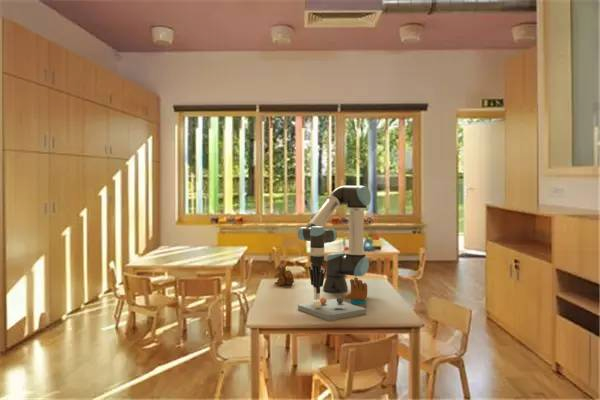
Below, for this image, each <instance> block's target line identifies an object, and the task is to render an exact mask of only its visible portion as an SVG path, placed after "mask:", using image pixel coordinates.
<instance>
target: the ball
mask: <svg viewBox="0 0 600 400" xmlns="http://www.w3.org/2000/svg"><path fill="white" fill-rule="evenodd" d="M327 300H328V299H327V298H326V297H325V296H323V297H320V299H319V301H320V302H321V303H322V304H325V303H326V302H327Z"/></svg>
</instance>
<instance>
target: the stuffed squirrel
mask: <svg viewBox="0 0 600 400" xmlns="http://www.w3.org/2000/svg"><path fill="white" fill-rule="evenodd" d="M286 268H287V264H286V263H284V264H283V263H281V264H279V265H277V266H276V269H275V271H277V272H276V273H275V274H274V275H273V276H274V278H276V279H277V278H278V279H277V281H275V282H274V285H275V284H277V285H276V286H291V285H293V284H294V283H295V279H294V275H293V272H292V271H291V270H290V269H286Z"/></svg>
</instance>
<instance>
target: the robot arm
mask: <svg viewBox="0 0 600 400" xmlns="http://www.w3.org/2000/svg"><path fill="white" fill-rule="evenodd" d="M371 200H372V196H371V192H370V190H369V188H368V187H367V186H366V185H340V186H338V187H337V188H335V189H334V190H332V191H331V192H330V193H329V194H328V195H327V197H326V198H325V202H323V204H322V206H321V207H320V208H319V209H318V211H317V212H316V213H315V214H314V216H313V217H312V218H311V220H309V222H308V223H307V225H306V226H302V227H299V228H298V230H297V237H298V239H299V240H300V241H305V242H306V241H307V242H310V250H309V251H310V252H309V255H310V256H309V263H311V265H310V266H308V267H307V268H308V271H309V278H310V284H311V286H312V287H313V300H320V299H321V296H320V293H321V288H322V290H323V291H324V292H325V293H338V294H339V293H346V292H348V290H349V289H348V288H349V287H348V284H347V280H346V276H354V277H364V276H365V275H366V274H367V272H368V270H369V268H370V267H369V266H370V260H369V258H368V257H367V256H366V253H365V252H364V224H365V223H364V222H365V211H366V210H367V209H368V207H367V206H369V205H370V203H371ZM343 205H345V206H347V209H348V211H349V222H348V226H349V227H348V250H347V251H346V252H332V253H328V254H327V255H326V259H325V256H324V255H325V244H326V243H332V242H335V241H336V240H337V238H338V233H337V231H336V229H334V228H331V227H329V228H325V224H326V222H328V220H329V219H330V217H331V216H332V215H333V214H334V213H335V211H336V210H337V209H339V208H340V207H341V206H343ZM323 263H325V269H324V264H323Z"/></svg>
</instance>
